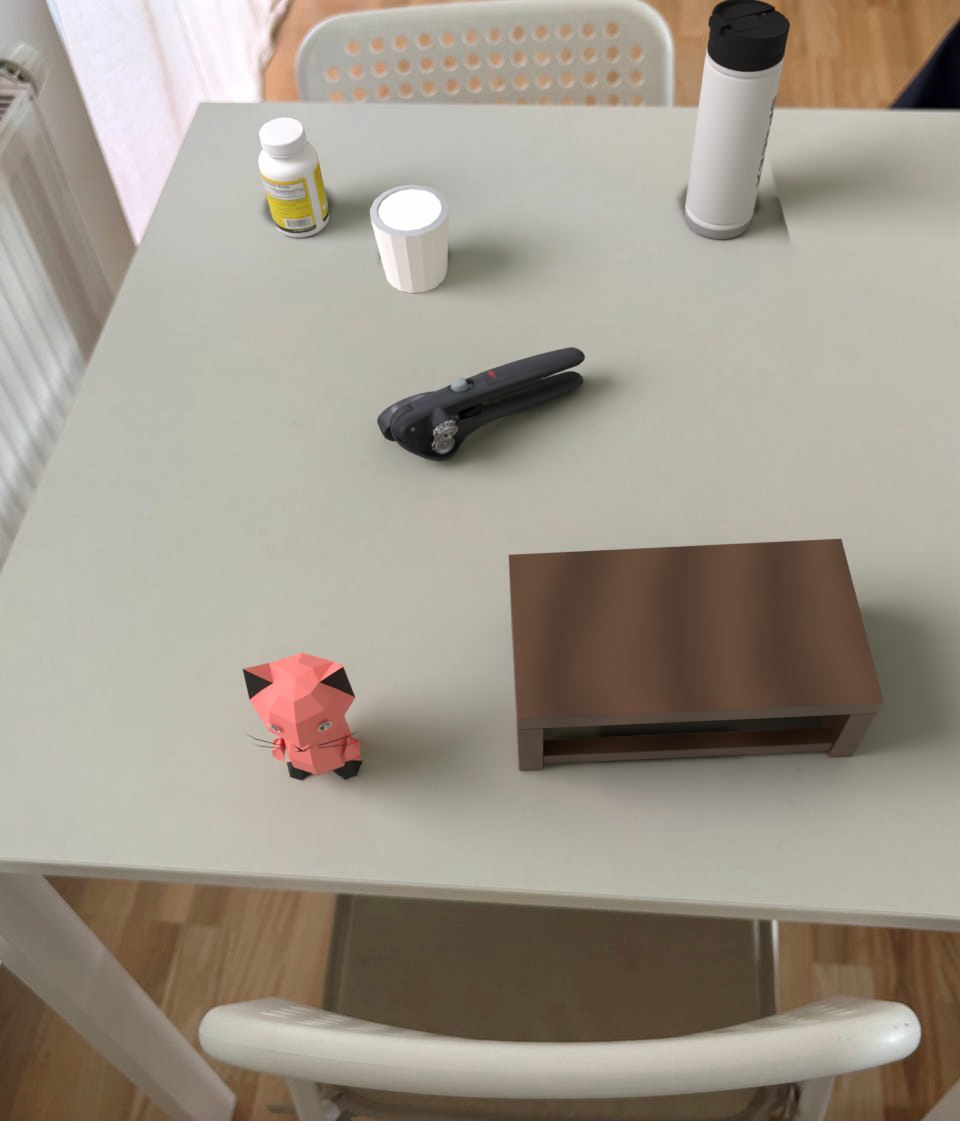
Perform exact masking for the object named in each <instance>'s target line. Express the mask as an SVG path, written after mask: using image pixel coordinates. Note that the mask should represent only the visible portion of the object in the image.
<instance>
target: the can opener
mask: <svg viewBox="0 0 960 1121" xmlns="http://www.w3.org/2000/svg"><path fill="white" fill-rule="evenodd" d="M585 359H586V355H585V353H584V352H583V351H582V350H581V349H580V348H578V347H573V346H572V347H571V346H569V347H564V348H560V349H555V350H551V351H547V352H543V353H539V354H535V355H532V356H528V357H524V358H522V359H518V360H514V361H512V362H508V363H505V364H502V365H499V366H496V367H493V368H490V369H488V370H487V369H486V370H485V371H481V372H479V373H477V374H474V375H472V376H469V377H467V378H464V377H462V376H461V377H457V378H456V379H454V380H453V381H452V382H451V384H449V385H447V386H445V387H443V388H440V389H437V390H432V391H425V392H420V393H418V394H413V395H411V396H407V397H405V398H402V399H401V400H399V401H397V402H394V403H393V404H391V405H389V406H388V407H386V408H385V409H383V411H382V412H381V413H380V414H378V416H377V419H376V422H377V426H378V428H379V430H380V433H381V434H382V436H383V438H384V439H385V440H388V441H390V442H396V443H397V444H398V445H399V446H400V447H401V448H402V449H403V450H405V451H406V452H409V453H411V454H413V455H416V456H417V457H420V458H422V459H426V460H428V461H429V460H430V461H433V462H443V461H448V460H450V459H451V458H453V457H454V456H455V455H456V454H457V452H458V451H459V449H460V448H461V446H462V444H463V443H464V441H465V440H466V439H467V437H469V436H470V435H471V434H473V433H474V432H476V431H477V430H479V429H480V428H482V427H483V426H486V425H487V424H490V423H492V422H494V421H497V420H500V419H504V418H506V417H509V416H513V415H516V414H519V413H522V412H526V411H528V410H532V409H537V408H539V407H541V406H543V405H547V404H550V403H551V402H554V401H556V400H558V399H560V398H562V397H564V396H566V395H569V394H570V393H572V392H575V391H576V390H578V389H579V388H580V387H582V386H583V384H584V380H585V379H584V377H583V376H582V374H581V373H580V372H577V371H574V370H570V369H573V368H575V367H577V366H579V365H581V364H582V363H583V362H584V361H585ZM567 370H568V371H567Z"/></svg>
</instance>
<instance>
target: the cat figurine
mask: <svg viewBox="0 0 960 1121" xmlns="http://www.w3.org/2000/svg"><path fill="white" fill-rule="evenodd" d="M242 673H243V678H244V681H245V686H246V691H247V696H248V700H249V701H250V703H251V705H252V706H253V709H254V710H255V711H256V713H257V714H258V716H259V718H260V719H261V721H262V723H263V724H264V726H265V727H266V729H267V731H268V732H269V733H271V734H273V735H275V736H277V737H278V738H275V739H273V741H272V742H271V741H267V740H264V739H259V738H255V737H253V736H252V735H250V734H247V733H245V732H244V734H246V735H247V736H248V737H250V738H251V739H254V740H255V741H259V742H264V743H268V744H272V745H273V746H268V745H258V744H256V743H254V745H255V746H257V747H261V748H270V749H271V748H272V750H271V753H272V757H273V758H276V760H279V761H281V762H283V763H285V756H286V753H287V756H288V760H287V761H286V765H287V769H288V773H289V777H290V778H292V779H295V780H299V781H303V780H305V779H306V778H308V777H309V776H310V775H312V774H314V775H316V776H319V775H323V774H326V773H328V772H331V771H332V772H334V773H335V774H336V775H338V776H339V777H340V778H341V779H343V780H348V779H351V778H354V777H356V776H358V774H359V771H360V769H361V766H362V764H363V759H362V756H361V744H362V743H361V742H360V739H358V738H356V737H353V736H352V735H354V734H356V733H357V732H358V730H356V731H354V732H352V731H351V729H350V726H349V723H348V722H347V718H346V714H347V712H348V710H349V709H350V707H351V705H352V704H353V703H354V701H355V699H356V695H355V693H354V690H353V687H352V685H351V682H350V680H349V677H348V675H347V674H348V673H347V672H346V669H345V666H344V665H342V664H340V663H338V662H336V661H334V660H329V659H326V658H322V657H319V656H315V655H312V654H308V653H304V652H300V653H297V654H294V655H290V656H287V657H285V658H281V659H278V660H275V661H271V662H268V663H263V664H259V665H254V666H250V667H249V666H248V667H245V668H242Z"/></svg>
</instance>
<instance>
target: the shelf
mask: <svg viewBox="0 0 960 1121" xmlns="http://www.w3.org/2000/svg"><path fill="white" fill-rule="evenodd" d="M508 574H509V575H508V576H509V578H508V580H509V598H510V599H509V601H510V602H509V603H510V621H511V622H510V623H511V624H510V625H511V642H512V660H513V661H512V662H513V680H514V682H513V684H514V701H515V719H516V720H515V721H516V739H517V740H516V743H517V760H518V771H519V772H523V771H524V772H526V771H527V772H528V771H543V770H544V764H561V763H562V764H563V763H564V764H565V763H585V762H586V763H588V762H607V761H608V762H609V761H610V762H611V761H632V760H653V759H656V760H657V759H676V758H677V759H678V758H697V757H701V758H702V757H720V756H725V757H726V756H743V755H747V756H748V755H769V754H789V753H790V754H791V753H792V754H793V753H814V752H826V754H827V757H828V758H845V757H846V758H847V757H853V755H854V754H855V752H856V751H857V749H858V747H859V745H860V744H861V742H862V740H863V739H864V737H865V735H866V733H867V732H868V730H869V728H870V726H871V724H872V723H873V721H874V720H875V718H876V716H877V715H878V712H879V711H880V709H881V707H882V706H883V704H884V698H883V694H882V689H881V687H880V683H879V679H878V675H877V671H876V667H875V662H874V659H873V654H872V651H871V648H870V644H869V640H868V636H867V631H866V629H865V628H866V627H865V625H864V621H863V617H862V613H861V610H860V605H859V601H858V597H857V594H856V589H855V585H854V582H853V578H852V574H851V570H850V566H849V562H848V559H847V555H846V551H845V547H844V543H843V539H842V538H825V539H806V540H784V541H782V540H781V541H763V542H743V543H741V542H740V543H725V544H720V543H719V544H702V545H701V544H699V545H682V546H681V545H680V546H661V547H658V546H657V547H642V548H641V547H638V548H620V549H599V550H579V551H557V552H556V551H555V552H537V553H535V552H534V553H515V554H508ZM798 717H819V721H820V727H800V728H798V727H797V728H780V729H756V730H755V729H754V730H734V731H732V730H731V731H712V732H711V731H710V732H690V733H689V732H687V733H666V734H664V733H663V734H644V735H642V734H641V735H622V736H621V735H620V736H619V735H618V736H601V737H599V736H598V737H597V736H596V737H579V738H556V739H544V729H553V728H554V729H555V728H575V727H576V728H577V727H596V726H597V727H599V726H619V725H620V726H622V725H640V724H641V725H643V724H661V723H684V722H685V723H687V722H707V721H729V720H730V721H732V720H753V719H754V720H755V719H774V718H776V719H777V718H798Z"/></svg>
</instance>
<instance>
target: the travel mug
mask: <svg viewBox="0 0 960 1121" xmlns="http://www.w3.org/2000/svg"><path fill="white" fill-rule="evenodd" d="M707 24H708V27H709V32H708V40H707V45H706V49H705V57H704V63H703V64H704V65H703V71H702V80H701V86H700V94H699V100H698V109H697V116H696V124H695V131H694V139H693V145H692V153H691V160H690V167H689V174H688V175H689V176H688V182H687V183H688V184H687V189H686V190H687V191H686V197H685V198H686V199H685V206H684V212H685V218H684V220H685V219H686V221H685V223H686V222H687V223H688V224H687V223H686V224H687V226H688V225H689V226H690V227H689V226H688V227H689V228H690V229H691V228H692V229H691V231H692V232H694V231H695V232H694V233H696V234H697V233H698V234H697V235H699V234H700V235H699V236H702V235H703V236H702V237H704V236H705V237H704V238H707V239H713V240H726V239H728V240H729V239H732V238H735V237H739V236H740V235H743V233H745V232H746V231H747V230H748V229H749V228H750V227H751V225H752V222H753V217H754V213H755V207H756V203H757V198H758V192H759V187H760V184H761V183H760V182H761V178H762V173H763V167H764V162H765V157H766V152H767V147H768V142H769V136H770V131H771V126H772V122H773V118H774V112H775V108H776V107H775V106H776V101H777V97H778V91H779V86H780V82H781V76H782V72H783V66H784V61H785V56H786V48H787V42H788V37H789V32H790V27H791V23H790V21H789V19H788V18H787V17H786V16H785V15H784V14H783V13H781V12H780V11H779V10H776V6H774V5H772V4H770V3H768V2H765V1H762V0H723V1H721V2H718V3H717V4H716V5H714V7H713V9H712V10H711V15H709V18H708V23H707Z"/></svg>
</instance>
